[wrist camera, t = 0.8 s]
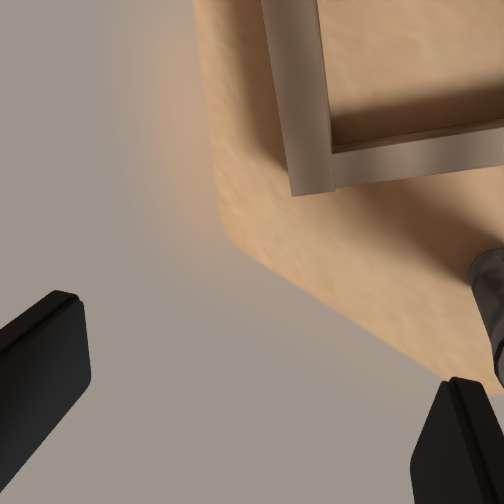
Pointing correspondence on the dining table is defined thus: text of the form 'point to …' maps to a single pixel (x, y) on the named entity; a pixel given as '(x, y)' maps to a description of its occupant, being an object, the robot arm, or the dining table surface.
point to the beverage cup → (491, 301)
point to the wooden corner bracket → (319, 121)
